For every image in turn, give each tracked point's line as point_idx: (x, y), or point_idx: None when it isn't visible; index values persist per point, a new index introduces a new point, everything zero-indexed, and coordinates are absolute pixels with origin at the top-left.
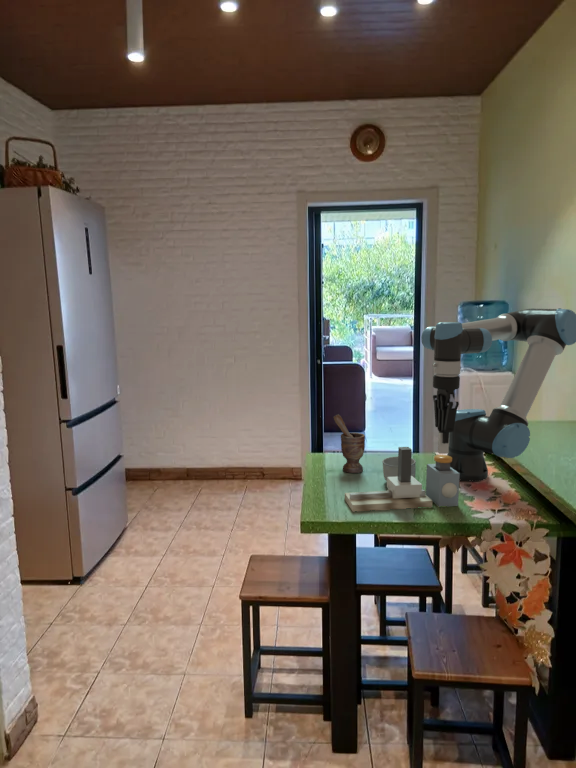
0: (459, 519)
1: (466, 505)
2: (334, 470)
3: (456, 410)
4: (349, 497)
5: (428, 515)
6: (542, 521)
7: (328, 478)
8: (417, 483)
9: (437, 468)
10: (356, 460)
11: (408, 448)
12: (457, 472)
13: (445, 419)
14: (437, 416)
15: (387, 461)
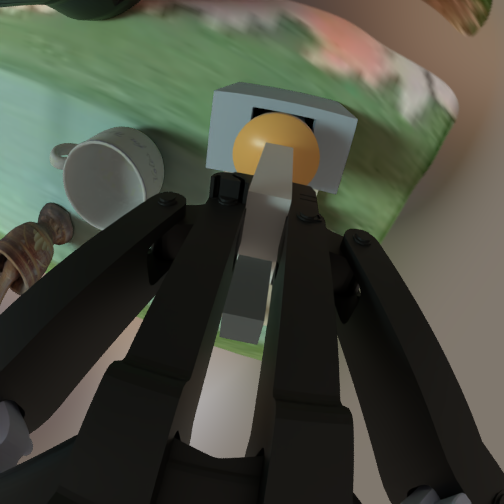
0: (408, 161)
1: (343, 78)
2: (61, 252)
3: (475, 428)
4: None
5: (358, 209)
6: (480, 11)
7: None
8: None
9: None
10: (51, 236)
11: (247, 323)
12: (345, 119)
13: (350, 370)
14: (135, 306)
15: (79, 200)
